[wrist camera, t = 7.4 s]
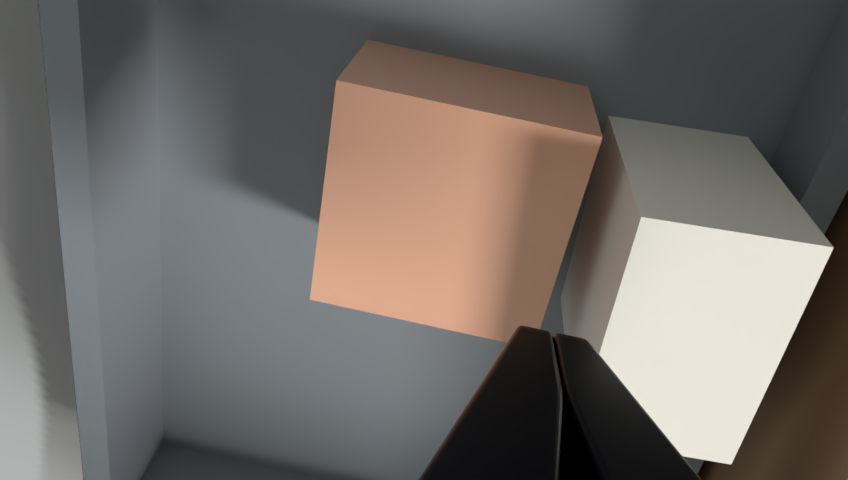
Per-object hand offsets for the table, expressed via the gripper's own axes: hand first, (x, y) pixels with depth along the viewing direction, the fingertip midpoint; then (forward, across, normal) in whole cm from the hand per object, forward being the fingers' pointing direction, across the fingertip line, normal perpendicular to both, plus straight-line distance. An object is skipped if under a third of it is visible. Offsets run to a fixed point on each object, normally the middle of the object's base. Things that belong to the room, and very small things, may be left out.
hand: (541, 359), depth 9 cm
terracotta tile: (+3, +2, 0) cm, 3 cm away
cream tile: (+4, -4, 0) cm, 5 cm away
